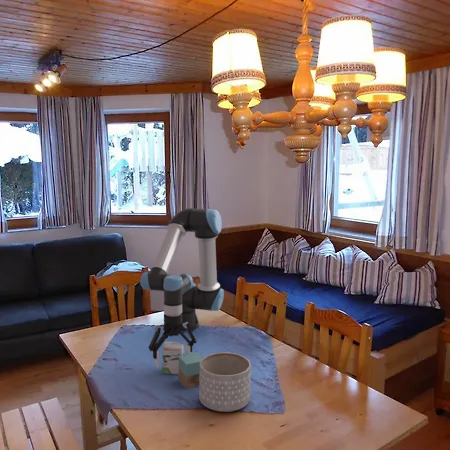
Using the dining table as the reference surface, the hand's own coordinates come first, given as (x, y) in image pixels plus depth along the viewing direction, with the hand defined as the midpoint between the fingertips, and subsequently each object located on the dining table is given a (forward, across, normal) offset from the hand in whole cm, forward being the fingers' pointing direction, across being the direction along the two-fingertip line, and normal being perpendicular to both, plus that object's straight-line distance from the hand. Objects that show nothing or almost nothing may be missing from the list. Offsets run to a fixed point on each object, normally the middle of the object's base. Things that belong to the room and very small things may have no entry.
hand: (172, 362), depth 176 cm
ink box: (+4, 0, 0) cm, 4 cm away
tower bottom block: (+4, -4, +11) cm, 13 cm away
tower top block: (-1, -4, +11) cm, 12 cm away
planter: (+4, -10, +29) cm, 31 cm away
